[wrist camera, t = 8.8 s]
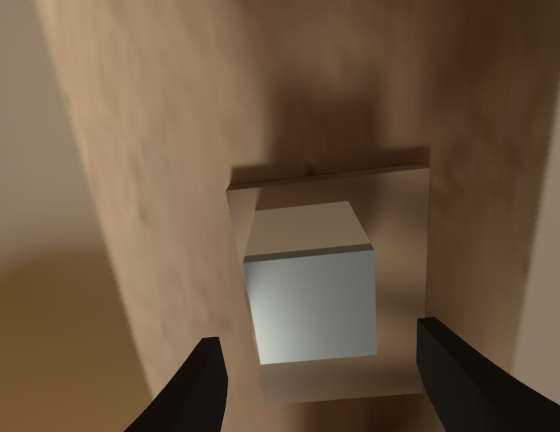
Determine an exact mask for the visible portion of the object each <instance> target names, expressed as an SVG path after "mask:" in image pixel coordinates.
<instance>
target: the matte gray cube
mask: <svg viewBox="0 0 560 432" xmlns="http://www.w3.org/2000/svg"><path fill="white" fill-rule="evenodd" d="M243 267H244V273H245V278H246V284H247V290H248V295H249V301H250V307H251V312H252V318H253V324H254V329H255V335H256V340H257V346H258V352H259V357H260V363H261V364H272V363H284V362H296V361H308V360H319V359H331V358H343V357H355V356H367V355H377V338H376V296H375V253H374V248H373V246H372V245H371V243H370V241H369V239H368V237H367V235H366V233H365V232H364V230H363V228H362V226H361V224H360V222H359V220H358V219H357V217H356V215H355V213H354V211H353V209H352V207H351V206H350V204H349V202H348V201H343V202H334V203H325V204H315V205H306V206H297V207H287V208H278V209H269V210H259V211H255V212H254V216H253V221H252V225H251V229H250V234H249V238H248V243H247V247H246V251H245V256H244V260H243Z"/></svg>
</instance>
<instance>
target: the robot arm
mask: <svg viewBox="0 0 560 432" xmlns="http://www.w3.org/2000/svg"><path fill="white" fill-rule="evenodd" d="M416 364H417V367H418V370H419V373H420V376H421V379H422V381H423V384H424V387H425V389H426V392H427V394H428V396H429V398H430V400H431V402H432V404H433V406H434V408H435V410H436V412H437V414H438V416H439V418H440V420H441V422H442V424H443V426H444V428H445V430H446V432H560V405H558V404H557V403H555V402H553V401H551V400H549V399H548V398H546V397H545V396H543V395H541V394H539V393H538V392H536V391H535V390H533V389H531V388H530V387H528V386H526V385H525V384H523V383H522V382H520V381H519V380H517V379H516V378H514V377H513V376H511V375H510V374H508V373H507V372H505V371H504V370H502V369H501V368H500V367H498V366H497V365H495V364H494V363H493V362H491V361H490V360H488V359H487V358H486V357H484V356H483V355H482V354H480V353H479V352H478V351H476V350H475V349H474V348H473V347H471V346H470V345H469V344H467V343H466V342H465V341H464V340H462V339H461V338H460V337H459V336H457V335H456V334H455V333H454V332H453V331H451V330H450V329H449V328H448V327H446V326H445V325H444V324H443V323H442V322H440V321H439V320H438V319H437V318H435V317H428V318H417V346H416ZM227 388H228V376H227V371H226V367H225V362H224V358H223V354H222V349H221V345H220V340H219V337H209V338H202V339H201V340H200V342H199V343H198V344H197V346H196V347H195V348H194V350H193V351H192V352H191V354H190V355H189V357H188V358H187V359H186V361H185V362H184V363H183V365H182V366H181V367H180V369H179V370H178V371H177V372H176V374H175V375H174V376H173V377H172V379H171V380H170V381H169V383H168V384H167V385H166V386H165V387H164V389H163V390H162V391H161V392H160V393H159V394H158V396H157V397H156V398H155V399H154V400H153V401H152V403H151V404H150V405H149V406H148V407H147V408H146V409H145V410H144V412H142V414H141V415H140V416H139V417H138V418H137V419H136V420H135V421H134V422H133V423H132V424H131V425H130V426H129V427H128V428H127V429H126V430H125V431H124V432H220V431H221V426H222V421H223V417H224V412H225V407H226V398H227Z"/></svg>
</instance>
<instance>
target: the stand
mask: <svg viewBox="0 0 560 432" xmlns="http://www.w3.org/2000/svg"><path fill="white" fill-rule="evenodd" d="M429 184H430V168H429V167H428V166H426V165H424V164H423V163H417V164H409V165H400V166H391V167H382V168H374V169H365V170H356V171H348V172H339V173H330V174H322V175H313V176H304V177H295V178H287V179H278V180H269V181H261V182H252V183H243V184H235V185H229V187H228V188H227V190H226V194H227V199H228V205H229V210H230V215H231V221H232V226H233V232H234V237H235V243H236V248H237V253H238V259H239V264H240V270H241V275H242V281H243V286H244V291H245V297H246V302H247V308H248V313H249V319H250V324H251V329H252V335H253V340H254V346H255V351H256V357H257V362H258V367H259V373H260V378H261V384H262V389H263V394H264V400H265V405H278V404H290V403H303V402H315V401H328V400H340V399H353V398H365V397H378V396H390V395H402V394H415V393H422V392H423V381H422V379H421V376H420V373H419V370H418V367H417V364H416V346H417V318H425V303H426V273H427V243H428V213H429ZM343 201H348V202H349V204H350V206H351V207H352V209H353V211H354V213H355V215H356V217H357V219H358V220H359V222H360V224H361V226H362V228H363V230H364V232H365V233H366V235H367V237H368V239H369V241H370V243H371V245H372V246H373V248H374V253H375V296H376V338H377V355H367V356H355V357H343V358H331V359H319V360H308V361H296V362H284V363H272V364H261V363H260V357H259V352H258V346H257V340H256V335H255V329H254V324H253V318H252V312H251V307H250V301H249V295H248V290H247V284H246V278H245V273H244V267H243V260H244V256H245V251H246V247H247V243H248V238H249V234H250V229H251V225H252V221H253V216H254V212H255V211H259V210H269V209H278V208H287V207H297V206H306V205H315V204H325V203H334V202H343Z"/></svg>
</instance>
